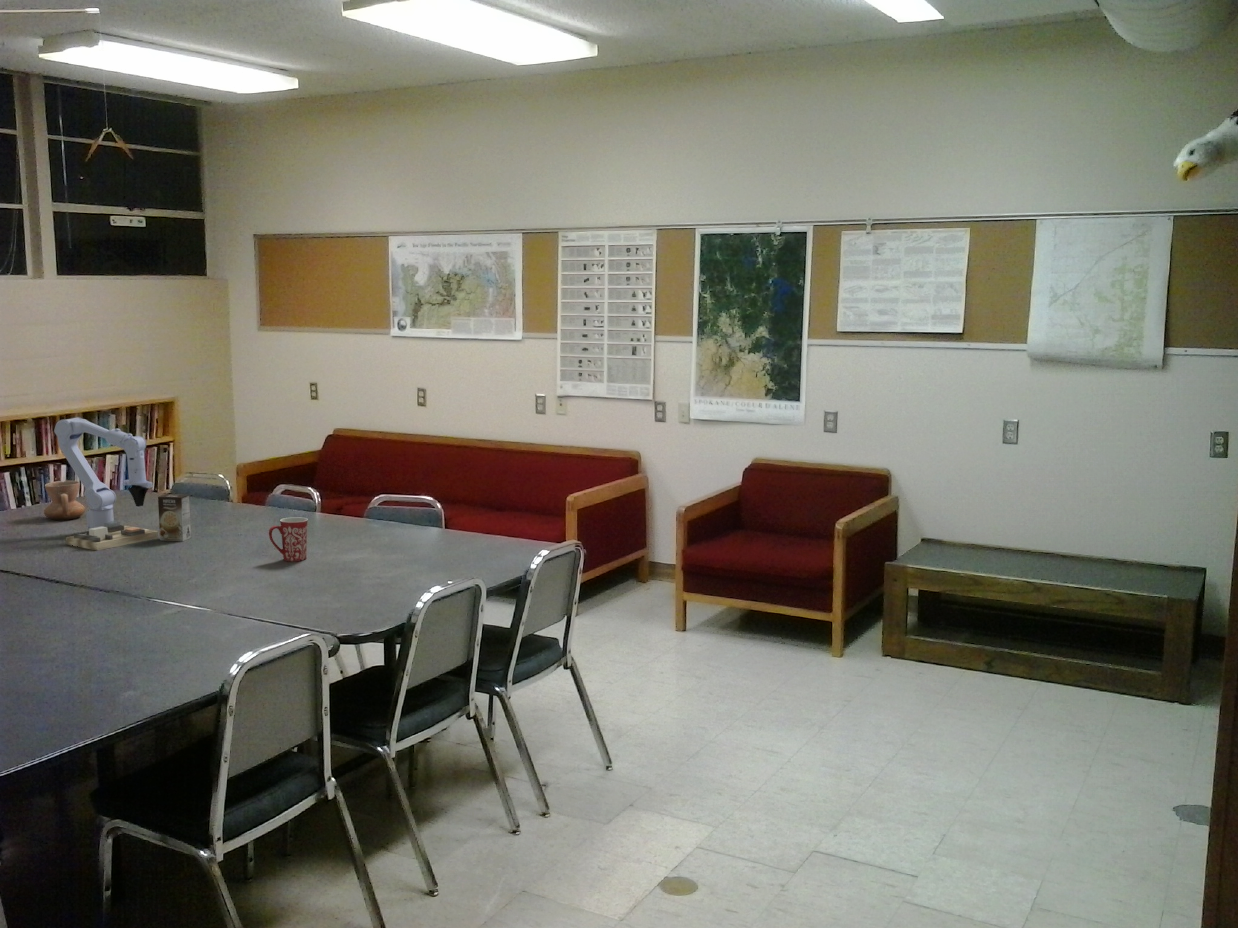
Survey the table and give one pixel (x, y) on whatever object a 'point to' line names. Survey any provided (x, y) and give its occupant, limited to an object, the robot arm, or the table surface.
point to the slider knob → (98, 532)
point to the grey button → (112, 524)
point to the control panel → (111, 538)
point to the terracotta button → (132, 529)
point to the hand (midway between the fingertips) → (139, 505)
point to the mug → (292, 538)
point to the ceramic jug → (63, 500)
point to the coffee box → (174, 517)
